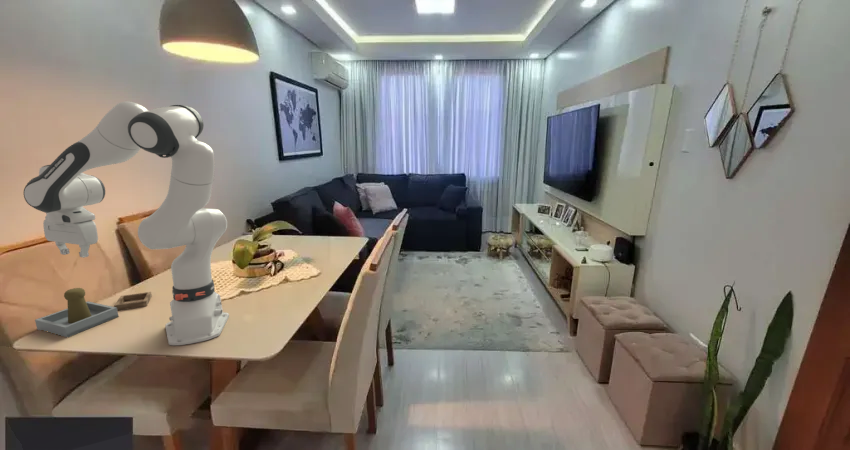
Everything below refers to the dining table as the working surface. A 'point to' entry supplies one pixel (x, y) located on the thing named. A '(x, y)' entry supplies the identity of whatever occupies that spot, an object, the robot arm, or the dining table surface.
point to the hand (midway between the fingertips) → (74, 255)
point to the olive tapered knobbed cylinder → (76, 305)
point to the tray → (61, 326)
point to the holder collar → (122, 306)
